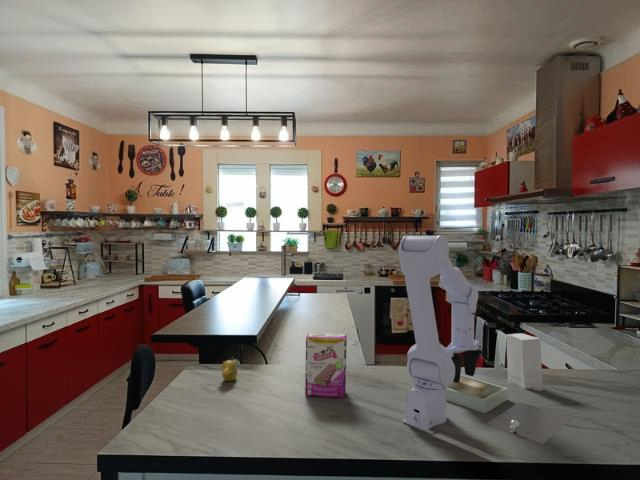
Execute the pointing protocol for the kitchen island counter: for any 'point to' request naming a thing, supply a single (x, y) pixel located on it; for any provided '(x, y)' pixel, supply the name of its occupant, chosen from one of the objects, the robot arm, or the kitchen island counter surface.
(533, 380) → the skincare box
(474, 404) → the bin
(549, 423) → the mount
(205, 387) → the kitchen island counter surface
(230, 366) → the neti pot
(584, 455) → the kitchen island counter surface
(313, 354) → the candy bar box
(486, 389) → the tan long block
